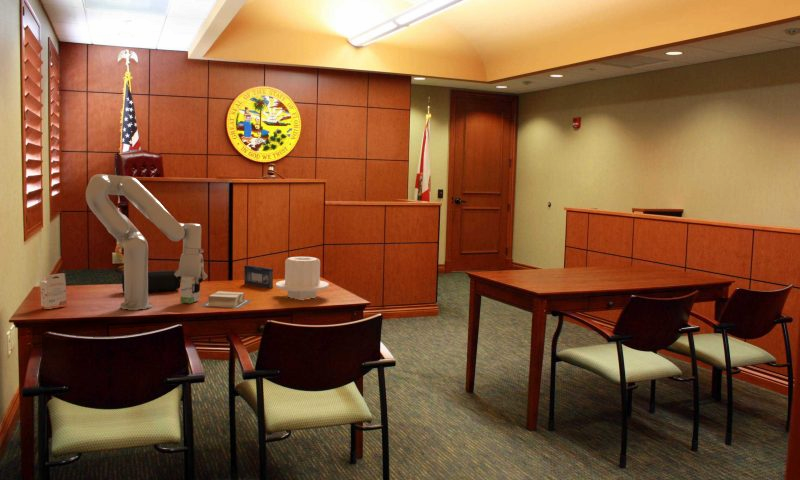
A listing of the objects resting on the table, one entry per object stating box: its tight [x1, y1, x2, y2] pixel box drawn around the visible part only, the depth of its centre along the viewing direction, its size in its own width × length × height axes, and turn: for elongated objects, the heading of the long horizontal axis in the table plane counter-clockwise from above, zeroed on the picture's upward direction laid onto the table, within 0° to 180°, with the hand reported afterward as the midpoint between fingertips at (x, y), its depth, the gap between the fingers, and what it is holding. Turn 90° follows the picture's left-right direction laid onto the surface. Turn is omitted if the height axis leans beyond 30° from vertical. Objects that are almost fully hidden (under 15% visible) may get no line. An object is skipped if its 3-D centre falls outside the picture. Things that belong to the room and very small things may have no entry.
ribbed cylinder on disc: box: [275, 256, 330, 301], centre depth 322 cm, size 25×25×19 cm
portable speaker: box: [121, 269, 181, 293], centre depth 325 cm, size 26×10×10 cm, turn 119°
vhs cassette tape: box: [243, 264, 274, 290], centre depth 348 cm, size 18×3×10 cm, turn 55°
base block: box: [208, 290, 245, 307], centre depth 301 cm, size 12×12×4 cm
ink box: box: [179, 276, 201, 304], centre depth 300 cm, size 9×5×12 cm, turn 169°
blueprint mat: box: [200, 299, 253, 309], centre depth 301 cm, size 18×18×1 cm
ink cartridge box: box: [40, 272, 67, 307], centre depth 285 cm, size 9×5×15 cm, turn 148°
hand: (190, 291), depth 300 cm, fingers closed on ink box, 5 cm apart
